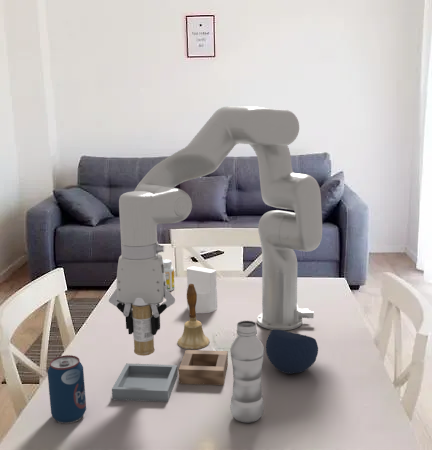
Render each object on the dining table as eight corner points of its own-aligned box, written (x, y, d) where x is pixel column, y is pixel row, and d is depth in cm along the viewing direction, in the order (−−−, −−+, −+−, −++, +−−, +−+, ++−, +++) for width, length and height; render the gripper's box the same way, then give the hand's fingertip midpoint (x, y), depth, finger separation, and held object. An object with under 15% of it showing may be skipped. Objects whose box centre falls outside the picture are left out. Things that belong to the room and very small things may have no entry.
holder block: (227, 364, 143) (227, 351, 142) (223, 385, 133) (223, 370, 132) (186, 363, 144) (185, 349, 143) (179, 383, 134) (178, 369, 133)
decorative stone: (313, 386, 132) (314, 343, 130) (260, 379, 135) (260, 338, 133) (320, 362, 143) (321, 323, 140) (271, 357, 146) (271, 318, 144)
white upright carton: (223, 305, 181) (222, 267, 178) (206, 315, 174) (205, 275, 171) (198, 300, 186) (197, 263, 183) (181, 309, 178) (180, 271, 176)
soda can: (86, 422, 119) (82, 367, 116) (50, 427, 118) (45, 371, 115) (86, 405, 126) (82, 352, 123) (52, 409, 124) (47, 355, 122)
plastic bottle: (228, 410, 123) (227, 318, 118) (261, 408, 123) (261, 316, 119) (232, 428, 116) (230, 331, 112) (266, 425, 117) (266, 329, 112)
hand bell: (205, 350, 151) (204, 290, 147) (173, 348, 152) (171, 288, 149) (212, 337, 158) (211, 279, 155) (182, 335, 160) (180, 278, 157)
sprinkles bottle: (150, 346, 134) (148, 288, 131) (157, 353, 130) (155, 295, 127) (130, 350, 132) (127, 292, 129) (137, 358, 128) (134, 298, 125)
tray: (177, 375, 138) (177, 365, 137) (168, 401, 126) (167, 391, 126) (126, 373, 139) (126, 363, 139) (112, 399, 128) (111, 388, 127)
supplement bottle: (164, 293, 193) (163, 264, 191) (155, 289, 197) (153, 260, 195) (177, 289, 196) (176, 261, 194) (168, 285, 200) (167, 257, 198)
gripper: (182, 246, 128) (184, 326, 133) (105, 245, 130) (110, 324, 134) (176, 256, 121) (179, 340, 125) (95, 255, 123) (100, 338, 127)
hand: (143, 331), depth 130 cm, fingers closed on sprinkles bottle, 4 cm apart
